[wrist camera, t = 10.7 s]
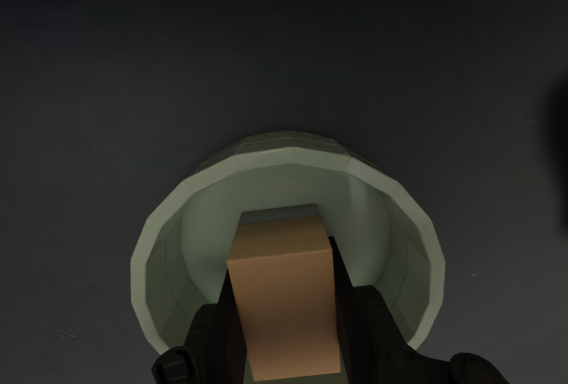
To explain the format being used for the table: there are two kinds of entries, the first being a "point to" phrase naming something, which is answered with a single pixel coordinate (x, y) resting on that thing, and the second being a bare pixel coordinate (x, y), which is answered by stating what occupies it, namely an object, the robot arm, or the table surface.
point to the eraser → (285, 292)
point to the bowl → (277, 194)
